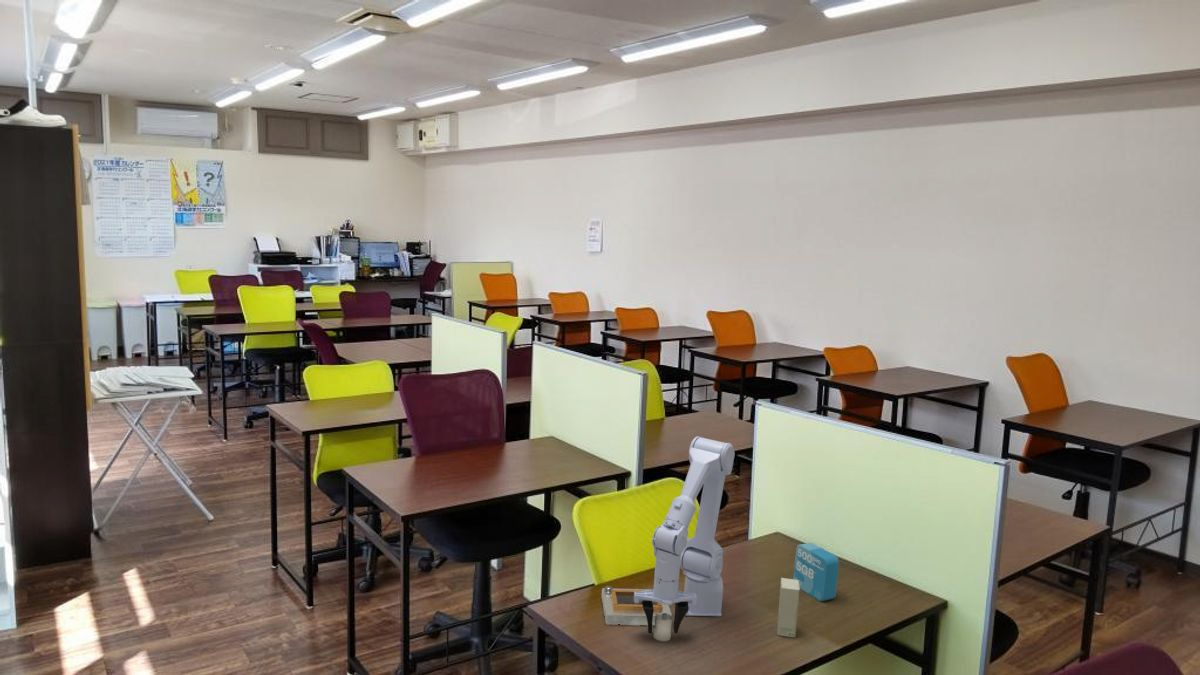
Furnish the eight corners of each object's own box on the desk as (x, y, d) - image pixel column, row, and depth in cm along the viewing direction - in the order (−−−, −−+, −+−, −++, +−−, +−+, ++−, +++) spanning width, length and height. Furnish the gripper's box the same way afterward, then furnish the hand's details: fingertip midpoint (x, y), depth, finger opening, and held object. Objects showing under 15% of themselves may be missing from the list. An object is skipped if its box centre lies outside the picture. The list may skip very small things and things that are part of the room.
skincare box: (795, 638, 193) (800, 590, 191) (776, 635, 194) (781, 588, 192) (794, 625, 199) (799, 579, 198) (776, 623, 200) (780, 576, 198)
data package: (792, 584, 223) (796, 542, 221) (804, 581, 225) (809, 540, 223) (822, 603, 212) (827, 560, 210) (835, 600, 214) (840, 557, 213)
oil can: (669, 632, 193) (671, 608, 192) (671, 641, 189) (673, 616, 188) (652, 632, 192) (654, 607, 191) (654, 641, 188) (656, 616, 187)
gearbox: (663, 598, 209) (664, 586, 209) (671, 626, 196) (672, 612, 195) (601, 597, 208) (602, 584, 208) (605, 624, 194) (606, 611, 194)
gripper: (637, 583, 184) (633, 639, 186) (700, 585, 185) (696, 640, 187) (634, 570, 191) (630, 623, 193) (695, 571, 192) (690, 625, 194)
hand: (662, 631), depth 190 cm, fingers open, 5 cm apart
